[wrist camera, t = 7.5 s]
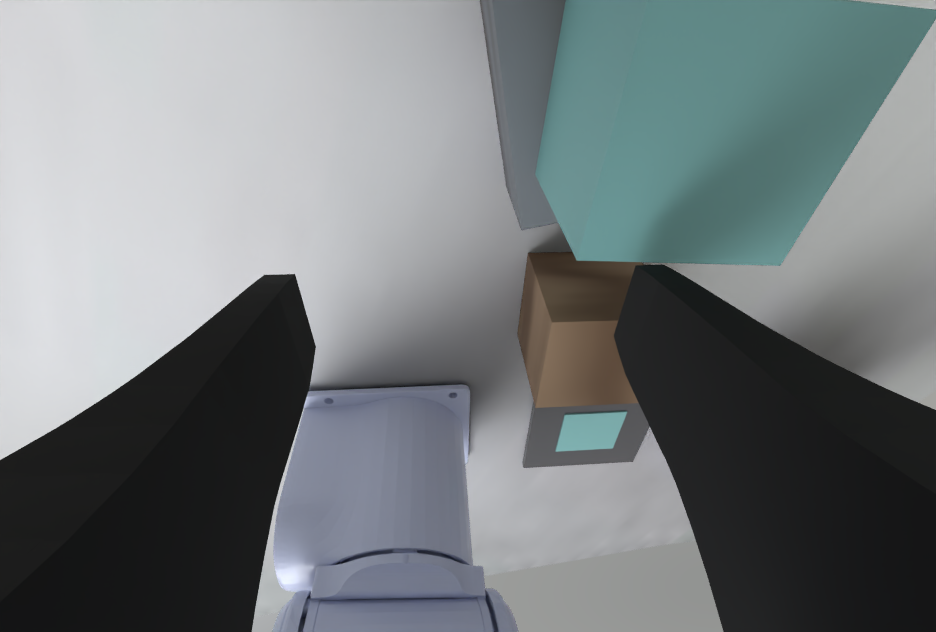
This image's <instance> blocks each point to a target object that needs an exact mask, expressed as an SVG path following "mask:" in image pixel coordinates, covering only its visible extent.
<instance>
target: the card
mask: <svg viewBox="0 0 936 632" xmlns="http://www.w3.org/2000/svg"><path fill="white" fill-rule="evenodd" d="M648 428H649V424H648V422H647V420H646V417H645V415H644V413H643V411H642V409H641V407H640V405H639V403H631V404H609V405H588V406H566V407H544V408H535V404H534V402H533V407H532V413H531V419H530V424H529V430H528V435H527V441H526V447H525V452H524V458H523V467H524V468H531V467H548V466H565V465H583V464H600V463H617V462H633V460H634V458H635V456H636V454H637V452H638V450H639V447H640V445H641V443H642V441H643V439H644V437H645V435H646V433H647V430H648Z"/></svg>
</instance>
